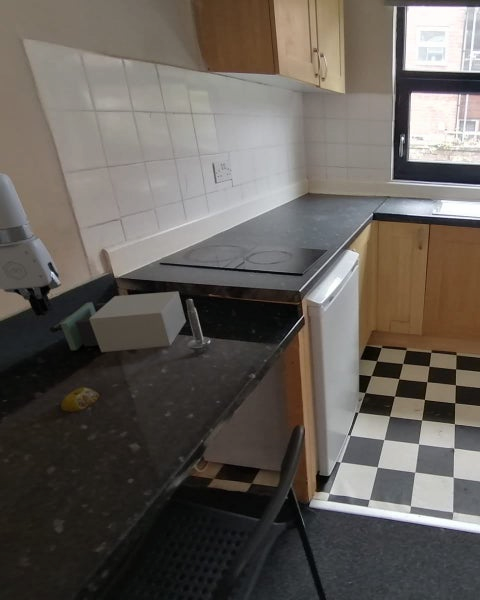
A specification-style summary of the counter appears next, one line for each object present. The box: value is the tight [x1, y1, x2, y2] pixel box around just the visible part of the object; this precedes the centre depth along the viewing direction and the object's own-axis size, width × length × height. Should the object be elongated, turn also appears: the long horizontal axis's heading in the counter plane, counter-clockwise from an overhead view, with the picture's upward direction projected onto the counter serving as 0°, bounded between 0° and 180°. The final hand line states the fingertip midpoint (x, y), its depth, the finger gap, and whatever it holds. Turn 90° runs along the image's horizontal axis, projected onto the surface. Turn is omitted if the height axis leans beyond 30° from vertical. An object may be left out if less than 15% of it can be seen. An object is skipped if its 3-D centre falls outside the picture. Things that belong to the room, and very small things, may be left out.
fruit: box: [60, 386, 100, 412], centre depth 73 cm, size 8×8×4 cm
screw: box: [185, 298, 212, 354], centre depth 89 cm, size 13×5×5 cm
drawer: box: [49, 301, 108, 351], centre depth 95 cm, size 18×11×7 cm, turn 101°
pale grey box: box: [89, 290, 187, 353], centre depth 96 cm, size 15×13×9 cm
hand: (44, 312), depth 92 cm, fingers closed
